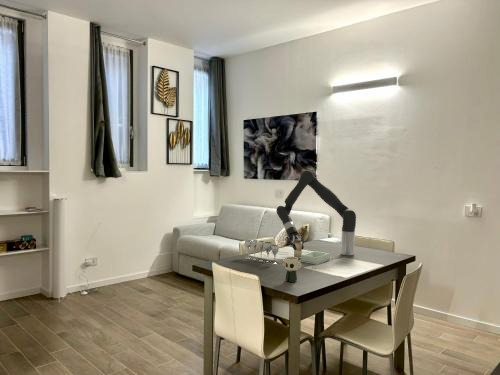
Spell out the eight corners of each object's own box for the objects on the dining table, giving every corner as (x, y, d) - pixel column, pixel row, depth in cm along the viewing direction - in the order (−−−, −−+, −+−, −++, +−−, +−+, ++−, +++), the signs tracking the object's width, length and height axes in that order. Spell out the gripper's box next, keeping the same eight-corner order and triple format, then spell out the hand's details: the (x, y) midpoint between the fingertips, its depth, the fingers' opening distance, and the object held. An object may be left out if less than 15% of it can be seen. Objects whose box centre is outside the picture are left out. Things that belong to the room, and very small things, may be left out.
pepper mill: (296, 255, 279) (296, 238, 278) (302, 256, 276) (303, 239, 275) (292, 257, 275) (292, 239, 274) (299, 258, 272) (299, 240, 271)
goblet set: (280, 263, 259) (280, 243, 258) (274, 265, 255) (275, 244, 254) (247, 256, 277) (248, 238, 276) (242, 258, 273) (242, 239, 272)
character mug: (279, 281, 218) (279, 257, 217) (285, 278, 224) (286, 255, 223) (297, 284, 212) (297, 260, 211) (302, 281, 218) (303, 258, 217)
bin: (313, 257, 280) (314, 250, 280) (329, 259, 273) (329, 253, 272) (301, 261, 265) (301, 255, 265) (317, 264, 258) (317, 257, 258)
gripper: (283, 226, 278) (292, 246, 268) (301, 225, 284) (310, 245, 274) (280, 233, 283) (288, 253, 273) (297, 232, 289) (305, 251, 279)
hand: (299, 249), depth 273 cm, fingers closed on pepper mill, 5 cm apart
